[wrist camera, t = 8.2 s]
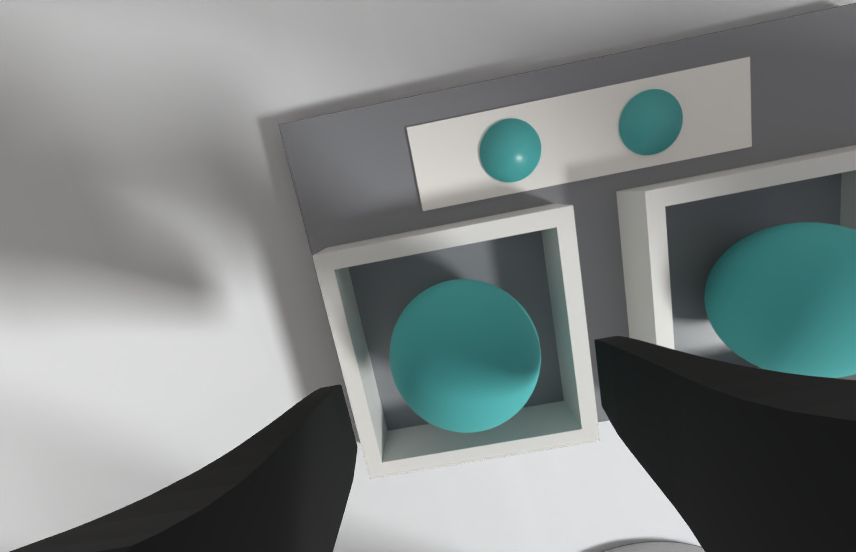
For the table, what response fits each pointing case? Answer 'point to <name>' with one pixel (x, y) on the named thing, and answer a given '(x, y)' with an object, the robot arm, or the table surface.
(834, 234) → the seated teal ball
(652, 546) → the candlestick
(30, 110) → the table surface
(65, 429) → the table surface
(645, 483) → the table surface
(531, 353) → the loose teal ball
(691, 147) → the sorting tray
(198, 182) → the table surface
